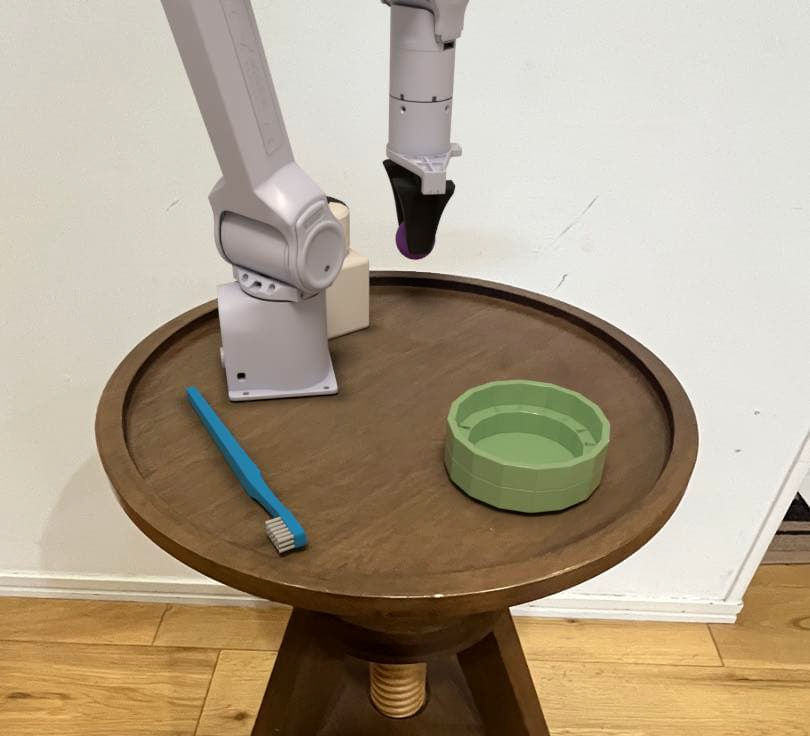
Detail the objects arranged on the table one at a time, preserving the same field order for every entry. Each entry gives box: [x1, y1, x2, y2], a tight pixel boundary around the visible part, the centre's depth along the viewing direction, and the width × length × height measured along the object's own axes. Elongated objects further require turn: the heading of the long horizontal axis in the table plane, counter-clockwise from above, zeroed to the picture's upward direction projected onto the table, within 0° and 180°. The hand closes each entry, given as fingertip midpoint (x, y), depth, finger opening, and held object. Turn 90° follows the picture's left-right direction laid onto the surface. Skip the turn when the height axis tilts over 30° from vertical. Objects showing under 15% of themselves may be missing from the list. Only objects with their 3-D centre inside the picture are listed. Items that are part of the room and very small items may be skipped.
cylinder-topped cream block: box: [326, 195, 370, 341], centre depth 81 cm, size 7×7×12 cm
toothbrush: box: [185, 385, 308, 554], centre depth 66 cm, size 23×2×2 cm
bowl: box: [443, 378, 611, 514], centre depth 66 cm, size 12×12×4 cm
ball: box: [395, 222, 437, 261], centre depth 84 cm, size 4×4×4 cm
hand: (415, 244), depth 85 cm, fingers closed on ball, 4 cm apart
